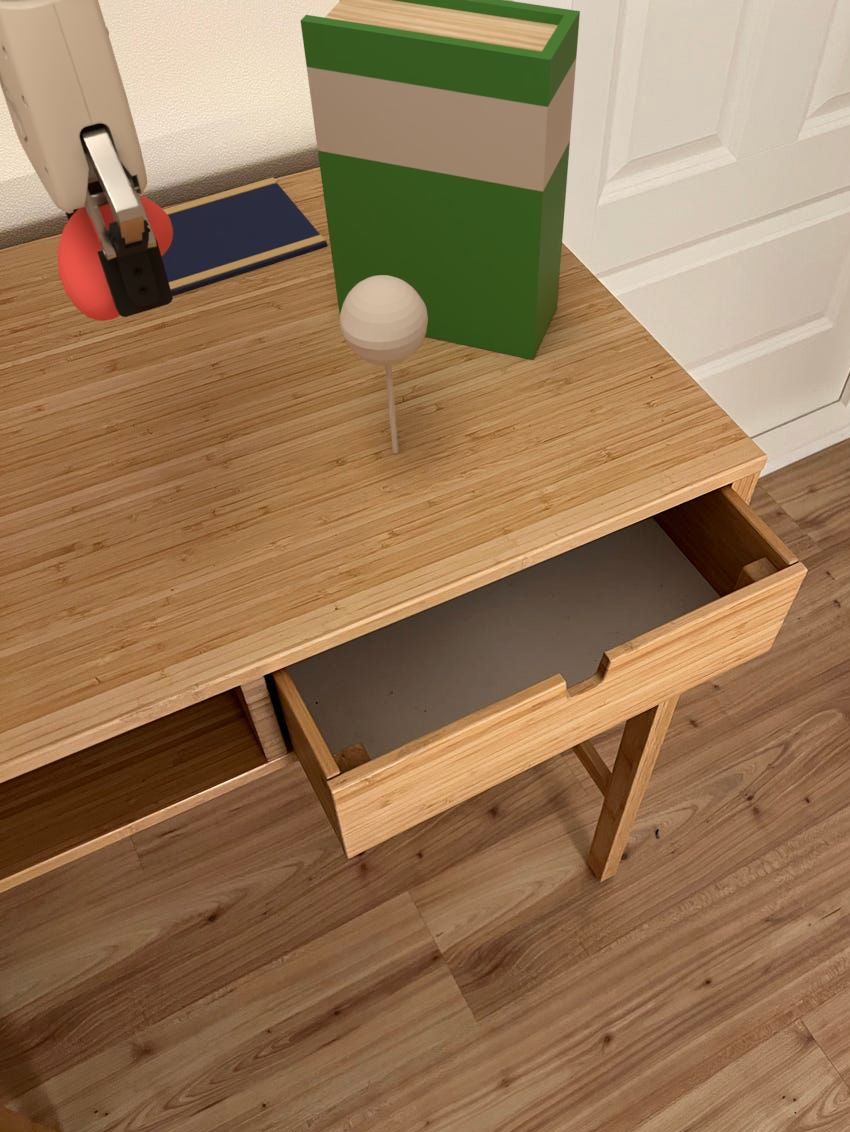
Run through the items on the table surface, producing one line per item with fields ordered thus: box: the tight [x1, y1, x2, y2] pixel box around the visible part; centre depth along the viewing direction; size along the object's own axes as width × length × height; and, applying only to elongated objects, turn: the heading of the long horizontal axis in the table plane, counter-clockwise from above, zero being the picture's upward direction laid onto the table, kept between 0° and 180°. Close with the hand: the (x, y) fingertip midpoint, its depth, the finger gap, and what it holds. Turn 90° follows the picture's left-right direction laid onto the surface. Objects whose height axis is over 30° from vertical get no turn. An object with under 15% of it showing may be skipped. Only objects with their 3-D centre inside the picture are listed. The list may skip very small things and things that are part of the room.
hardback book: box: [300, 0, 581, 361], centre depth 78 cm, size 18×7×24 cm, turn 72°
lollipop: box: [339, 275, 428, 454], centre depth 71 cm, size 6×6×15 cm
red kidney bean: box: [56, 195, 173, 322], centre depth 59 cm, size 5×9×6 cm
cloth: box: [162, 176, 328, 296], centre depth 94 cm, size 18×13×1 cm
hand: (121, 266), depth 60 cm, fingers closed on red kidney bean, 8 cm apart
